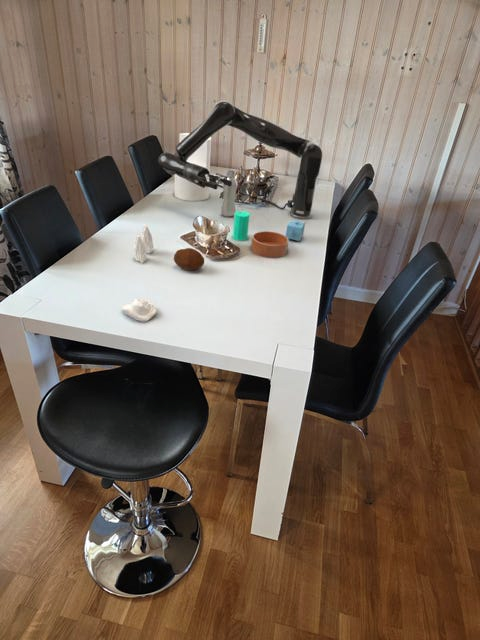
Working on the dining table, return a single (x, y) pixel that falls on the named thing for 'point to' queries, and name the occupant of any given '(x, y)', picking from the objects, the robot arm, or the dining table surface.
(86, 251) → the dining table surface
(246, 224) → the candle
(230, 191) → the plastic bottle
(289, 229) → the teapot
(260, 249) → the pot
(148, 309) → the rose
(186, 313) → the dining table surface
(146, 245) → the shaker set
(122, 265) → the dining table surface
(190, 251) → the potato
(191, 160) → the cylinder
